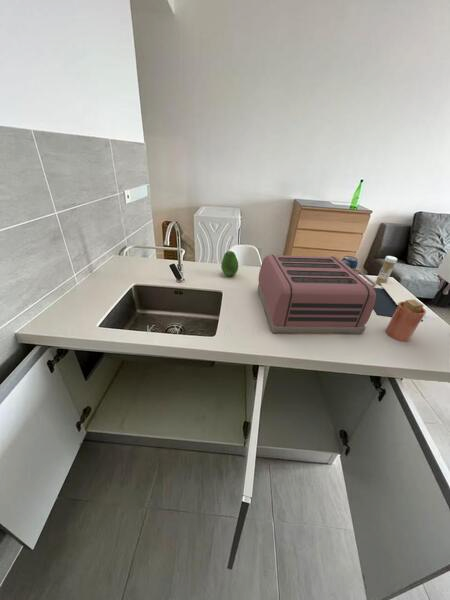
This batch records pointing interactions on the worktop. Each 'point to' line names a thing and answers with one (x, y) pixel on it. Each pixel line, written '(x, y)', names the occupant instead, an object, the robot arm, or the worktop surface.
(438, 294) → the robot arm
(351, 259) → the soda can
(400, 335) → the tumbler
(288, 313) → the toaster
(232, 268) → the fruit
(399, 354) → the worktop surface
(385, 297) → the mat
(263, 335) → the worktop surface
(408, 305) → the block
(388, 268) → the sprinkles bottle
